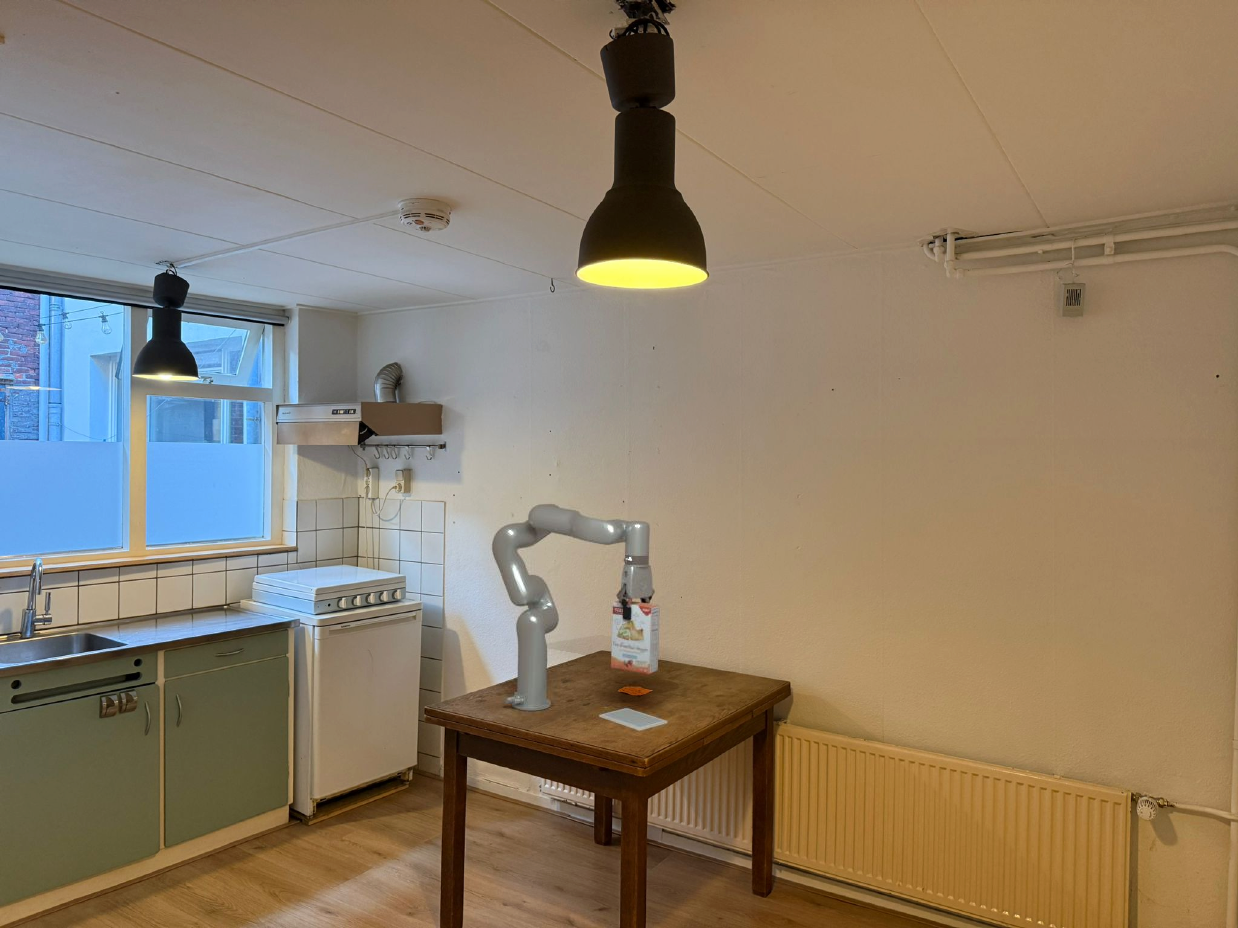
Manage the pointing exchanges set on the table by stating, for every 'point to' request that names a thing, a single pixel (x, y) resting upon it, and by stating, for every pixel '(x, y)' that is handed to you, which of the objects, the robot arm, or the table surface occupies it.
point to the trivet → (633, 719)
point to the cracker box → (635, 638)
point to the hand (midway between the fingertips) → (635, 617)
